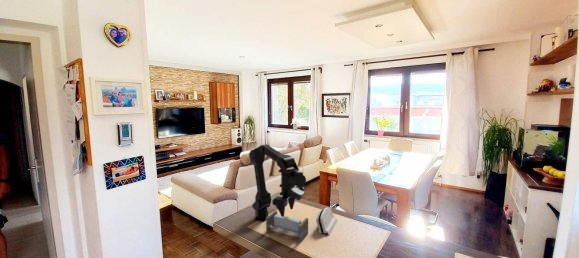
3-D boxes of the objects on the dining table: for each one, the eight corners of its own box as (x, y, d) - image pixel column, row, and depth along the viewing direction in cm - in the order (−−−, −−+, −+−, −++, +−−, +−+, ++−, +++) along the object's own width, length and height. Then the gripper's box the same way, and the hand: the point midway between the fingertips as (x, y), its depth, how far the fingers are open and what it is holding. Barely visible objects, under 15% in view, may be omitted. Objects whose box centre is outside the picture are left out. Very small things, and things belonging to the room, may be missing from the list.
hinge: (329, 235, 119) (322, 216, 120) (320, 236, 121) (314, 217, 122) (337, 220, 134) (331, 203, 135) (329, 221, 136) (324, 204, 137)
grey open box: (266, 232, 122) (266, 217, 121) (275, 225, 130) (275, 210, 129) (300, 242, 113) (300, 226, 112) (308, 233, 121) (308, 218, 120)
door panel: (274, 229, 124) (274, 216, 123) (276, 227, 126) (276, 214, 125) (299, 236, 117) (299, 222, 116) (301, 233, 119) (301, 220, 118)
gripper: (293, 190, 107) (293, 224, 108) (309, 179, 123) (309, 208, 125) (271, 187, 112) (272, 219, 113) (290, 176, 128) (290, 204, 130)
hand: (287, 212), depth 120 cm, fingers open, 9 cm apart
